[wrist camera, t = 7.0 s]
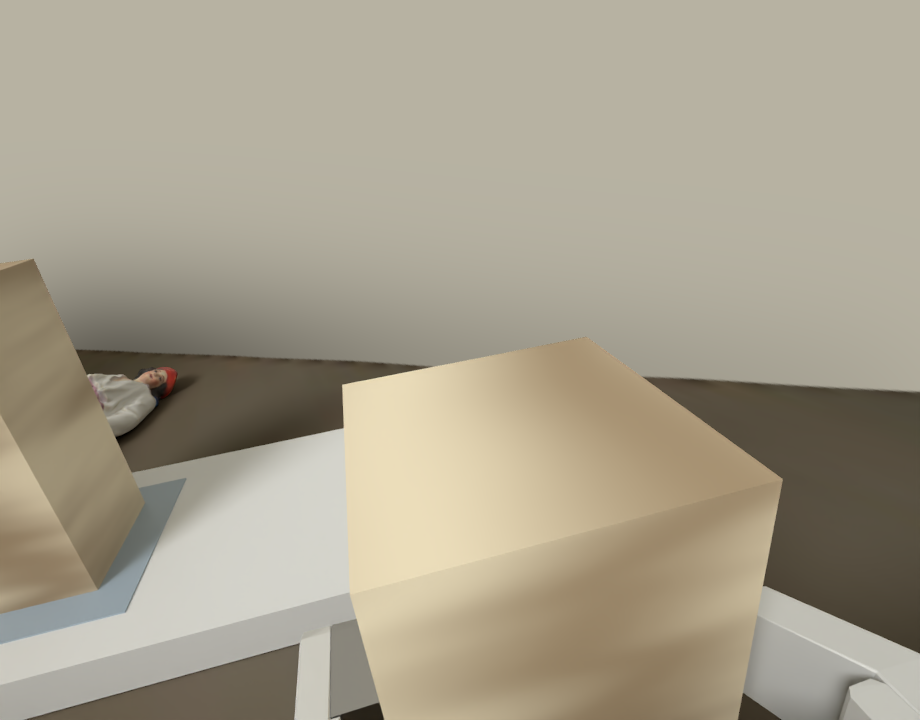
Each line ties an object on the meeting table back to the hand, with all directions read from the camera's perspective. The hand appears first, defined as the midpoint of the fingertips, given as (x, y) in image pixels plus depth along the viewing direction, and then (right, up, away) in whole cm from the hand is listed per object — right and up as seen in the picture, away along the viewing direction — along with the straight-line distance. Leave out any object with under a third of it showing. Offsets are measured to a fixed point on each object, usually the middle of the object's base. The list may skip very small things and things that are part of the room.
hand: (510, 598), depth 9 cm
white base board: (-8, -3, +10) cm, 14 cm away
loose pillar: (+1, -5, +1) cm, 6 cm away
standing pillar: (-15, -3, +8) cm, 18 cm away
